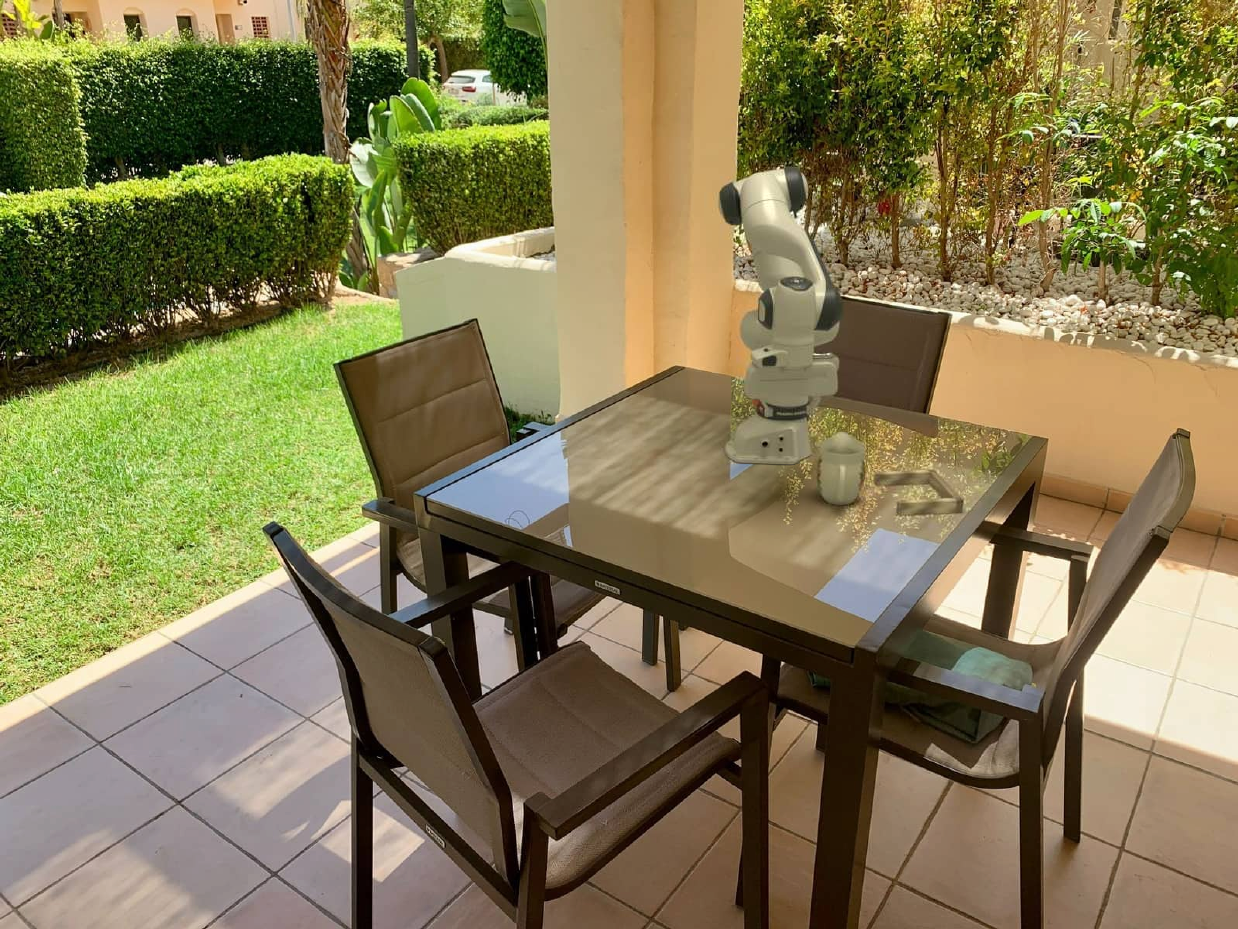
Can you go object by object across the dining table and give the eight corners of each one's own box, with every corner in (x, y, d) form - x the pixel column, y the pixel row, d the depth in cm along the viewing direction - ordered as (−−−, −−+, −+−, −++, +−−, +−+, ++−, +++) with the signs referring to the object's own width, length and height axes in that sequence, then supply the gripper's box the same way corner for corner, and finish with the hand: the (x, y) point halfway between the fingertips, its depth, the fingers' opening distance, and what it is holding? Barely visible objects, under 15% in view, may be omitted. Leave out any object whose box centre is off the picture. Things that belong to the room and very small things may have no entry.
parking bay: (898, 515, 207) (899, 503, 206) (873, 483, 224) (874, 472, 223) (962, 512, 208) (963, 500, 206) (933, 481, 224) (934, 469, 223)
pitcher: (814, 515, 208) (818, 459, 203) (814, 484, 224) (818, 430, 219) (864, 518, 206) (869, 461, 201) (861, 486, 222) (865, 432, 217)
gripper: (835, 348, 204) (831, 408, 209) (743, 352, 202) (741, 412, 207) (844, 356, 198) (839, 417, 203) (749, 359, 196) (747, 421, 201)
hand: (789, 415), depth 205 cm, fingers open, 8 cm apart
